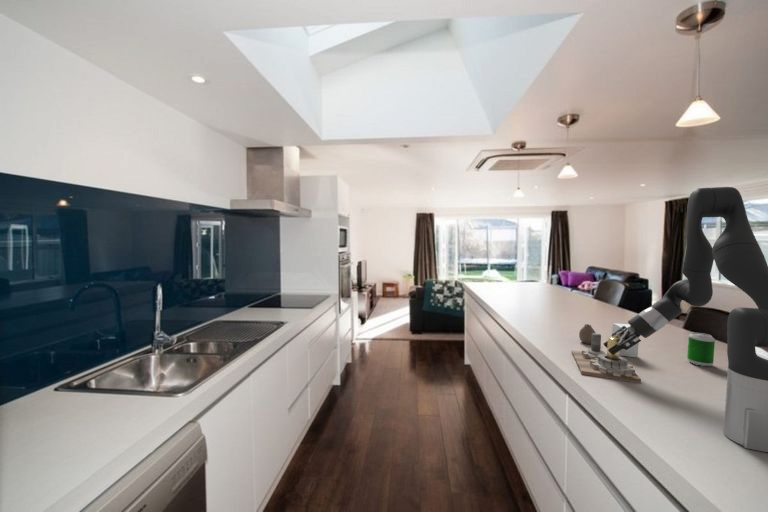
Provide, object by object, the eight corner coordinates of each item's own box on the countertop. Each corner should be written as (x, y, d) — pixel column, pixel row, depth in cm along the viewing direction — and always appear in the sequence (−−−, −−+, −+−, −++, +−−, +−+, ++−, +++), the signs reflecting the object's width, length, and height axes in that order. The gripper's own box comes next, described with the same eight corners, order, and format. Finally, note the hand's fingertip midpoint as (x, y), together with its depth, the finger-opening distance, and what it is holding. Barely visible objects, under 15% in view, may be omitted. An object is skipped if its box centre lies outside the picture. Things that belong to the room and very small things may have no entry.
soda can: (718, 368, 126) (720, 338, 125) (695, 366, 127) (697, 336, 127) (703, 361, 133) (705, 332, 133) (682, 359, 135) (684, 331, 134)
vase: (575, 341, 157) (576, 323, 157) (584, 339, 160) (585, 322, 160) (589, 346, 151) (590, 327, 151) (599, 344, 154) (599, 325, 153)
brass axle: (619, 367, 119) (620, 340, 119) (607, 365, 121) (609, 339, 120) (616, 363, 123) (618, 337, 122) (605, 362, 124) (606, 336, 123)
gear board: (640, 382, 113) (642, 352, 112) (581, 374, 120) (582, 345, 119) (621, 359, 135) (622, 333, 134) (571, 352, 142) (572, 328, 141)
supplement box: (618, 356, 138) (619, 327, 137) (610, 350, 145) (612, 322, 145) (638, 357, 136) (639, 328, 136) (629, 351, 144) (631, 323, 143)
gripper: (632, 310, 124) (595, 336, 129) (646, 318, 111) (604, 347, 116) (649, 325, 122) (610, 351, 128) (664, 335, 109) (621, 364, 114)
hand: (607, 349), depth 122 cm, fingers open, 6 cm apart
